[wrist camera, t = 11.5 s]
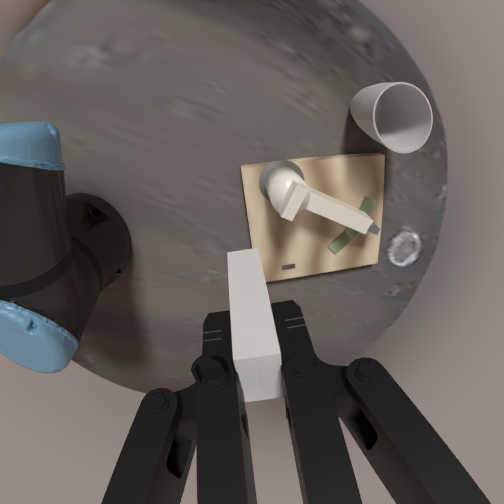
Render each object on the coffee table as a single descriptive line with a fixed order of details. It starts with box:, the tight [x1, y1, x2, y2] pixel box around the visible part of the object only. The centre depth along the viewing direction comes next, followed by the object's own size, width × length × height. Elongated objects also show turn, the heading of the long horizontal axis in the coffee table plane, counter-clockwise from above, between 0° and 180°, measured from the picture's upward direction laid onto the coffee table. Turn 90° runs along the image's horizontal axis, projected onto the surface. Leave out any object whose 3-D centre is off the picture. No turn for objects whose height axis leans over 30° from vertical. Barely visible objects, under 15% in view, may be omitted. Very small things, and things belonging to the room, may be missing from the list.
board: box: [241, 153, 385, 282], centre depth 42 cm, size 20×18×2 cm
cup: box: [350, 82, 433, 153], centre depth 31 cm, size 8×8×10 cm
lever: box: [265, 166, 380, 235], centre depth 37 cm, size 17×5×7 cm, turn 67°
